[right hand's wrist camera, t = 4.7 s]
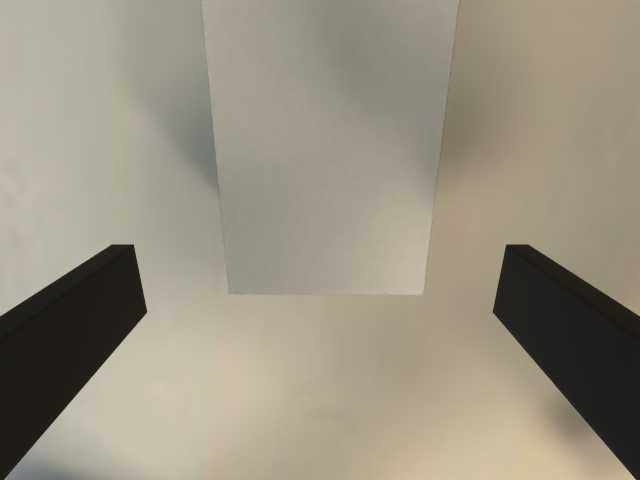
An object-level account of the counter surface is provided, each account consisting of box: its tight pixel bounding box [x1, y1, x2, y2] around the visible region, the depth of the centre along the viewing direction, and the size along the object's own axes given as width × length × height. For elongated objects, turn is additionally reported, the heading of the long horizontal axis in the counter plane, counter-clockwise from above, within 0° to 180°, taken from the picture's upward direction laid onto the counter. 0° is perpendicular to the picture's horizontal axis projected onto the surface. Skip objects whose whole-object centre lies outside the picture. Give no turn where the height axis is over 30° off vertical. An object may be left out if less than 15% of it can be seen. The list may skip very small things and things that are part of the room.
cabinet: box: [201, 0, 459, 295], centre depth 20 cm, size 17×10×9 cm, turn 0°
